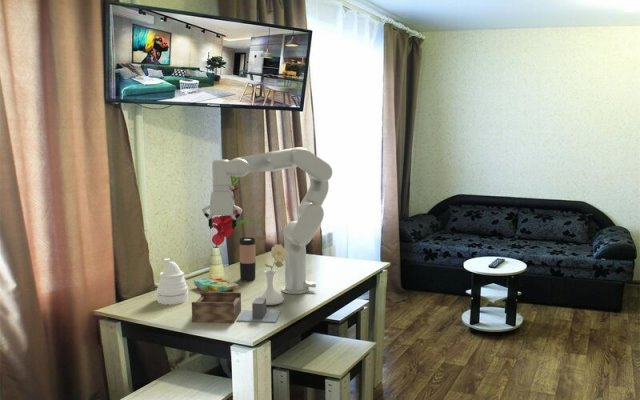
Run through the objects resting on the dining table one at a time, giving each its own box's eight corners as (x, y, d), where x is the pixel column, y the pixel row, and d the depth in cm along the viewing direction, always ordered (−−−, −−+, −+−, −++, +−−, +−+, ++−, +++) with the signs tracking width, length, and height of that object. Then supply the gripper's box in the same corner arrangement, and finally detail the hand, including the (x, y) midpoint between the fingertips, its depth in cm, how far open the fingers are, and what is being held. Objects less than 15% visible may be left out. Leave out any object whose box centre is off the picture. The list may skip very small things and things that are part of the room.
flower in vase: (261, 308, 230) (260, 248, 227) (253, 301, 240) (252, 243, 237) (291, 305, 235) (291, 245, 232) (282, 297, 245) (281, 240, 242)
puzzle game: (216, 274, 267) (238, 283, 252) (216, 284, 268) (239, 293, 253) (193, 278, 260) (215, 287, 244) (194, 288, 260) (215, 298, 245)
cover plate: (281, 313, 225) (280, 296, 224) (275, 324, 213) (275, 306, 212) (244, 312, 227) (243, 295, 226) (236, 322, 215) (236, 304, 214)
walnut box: (241, 310, 227) (240, 292, 226) (234, 322, 213) (233, 303, 212) (201, 310, 228) (201, 291, 227) (192, 321, 214) (191, 302, 213)
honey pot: (162, 306, 233) (160, 263, 231) (153, 298, 244) (152, 257, 242) (192, 301, 240) (191, 259, 237) (182, 294, 251) (181, 254, 248)
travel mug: (237, 280, 273) (236, 239, 270) (244, 276, 280) (244, 236, 278) (251, 281, 270) (250, 240, 268) (258, 278, 277) (258, 238, 275)
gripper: (243, 187, 243) (244, 227, 245) (203, 187, 244) (204, 226, 246) (240, 189, 236) (241, 230, 238) (199, 189, 236) (200, 229, 239)
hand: (222, 228), depth 242 cm, fingers open, 9 cm apart
